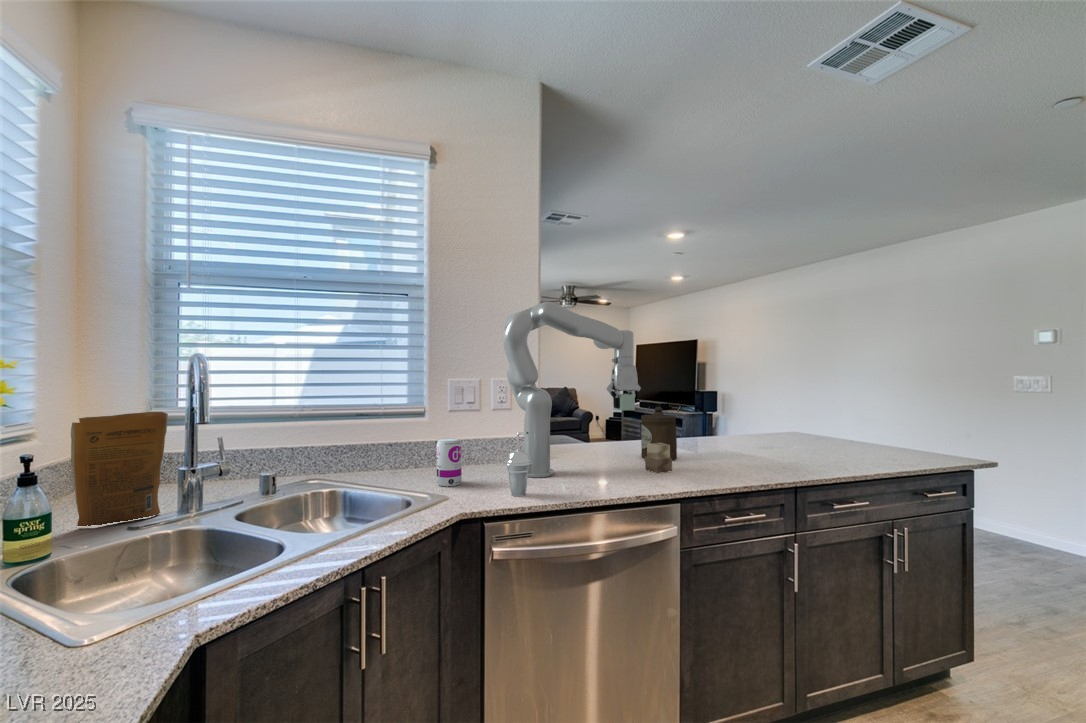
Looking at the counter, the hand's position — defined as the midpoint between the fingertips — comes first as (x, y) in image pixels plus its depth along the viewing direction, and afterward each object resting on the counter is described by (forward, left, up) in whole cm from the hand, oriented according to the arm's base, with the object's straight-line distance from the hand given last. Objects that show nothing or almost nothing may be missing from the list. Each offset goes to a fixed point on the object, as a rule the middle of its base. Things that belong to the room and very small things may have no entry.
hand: (623, 407), depth 192 cm
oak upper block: (+8, -11, -19) cm, 23 cm away
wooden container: (+24, +9, -24) cm, 35 cm away
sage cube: (0, 0, -1) cm, 1 cm away
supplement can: (-69, +2, -24) cm, 73 cm away
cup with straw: (-53, -21, -24) cm, 62 cm away
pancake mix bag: (-155, -2, -24) cm, 157 cm away
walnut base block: (+8, -11, -24) cm, 27 cm away
